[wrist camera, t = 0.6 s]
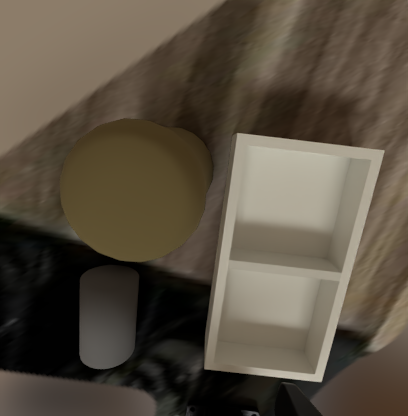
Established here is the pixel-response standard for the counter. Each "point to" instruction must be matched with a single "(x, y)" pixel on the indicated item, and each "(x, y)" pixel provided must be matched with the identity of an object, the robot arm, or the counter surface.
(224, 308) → the slot tray
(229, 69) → the counter surface
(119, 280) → the dark grey cylinder
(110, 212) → the cork
